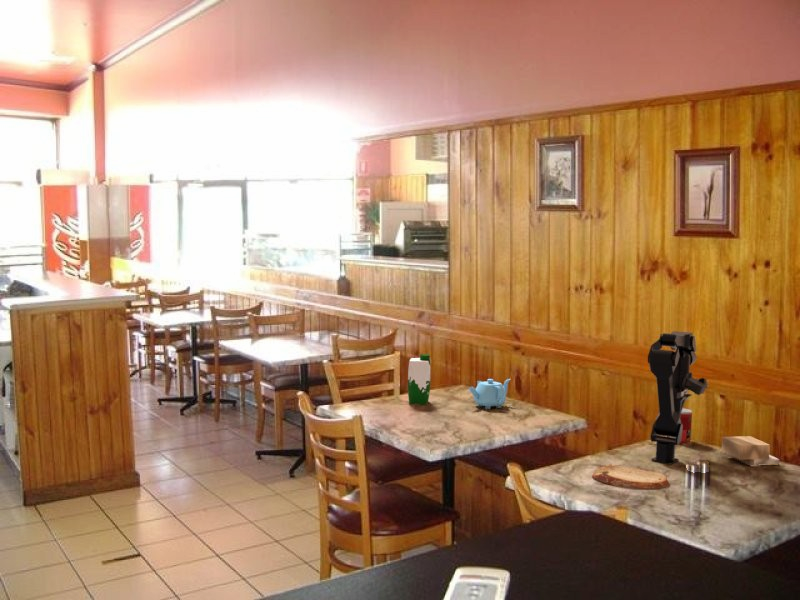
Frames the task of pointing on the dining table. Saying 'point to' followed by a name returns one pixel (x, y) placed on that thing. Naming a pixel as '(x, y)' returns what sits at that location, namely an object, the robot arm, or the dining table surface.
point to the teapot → (490, 393)
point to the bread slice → (629, 477)
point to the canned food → (685, 425)
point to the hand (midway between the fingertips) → (678, 415)
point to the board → (759, 460)
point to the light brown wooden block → (745, 447)
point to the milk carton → (419, 379)
